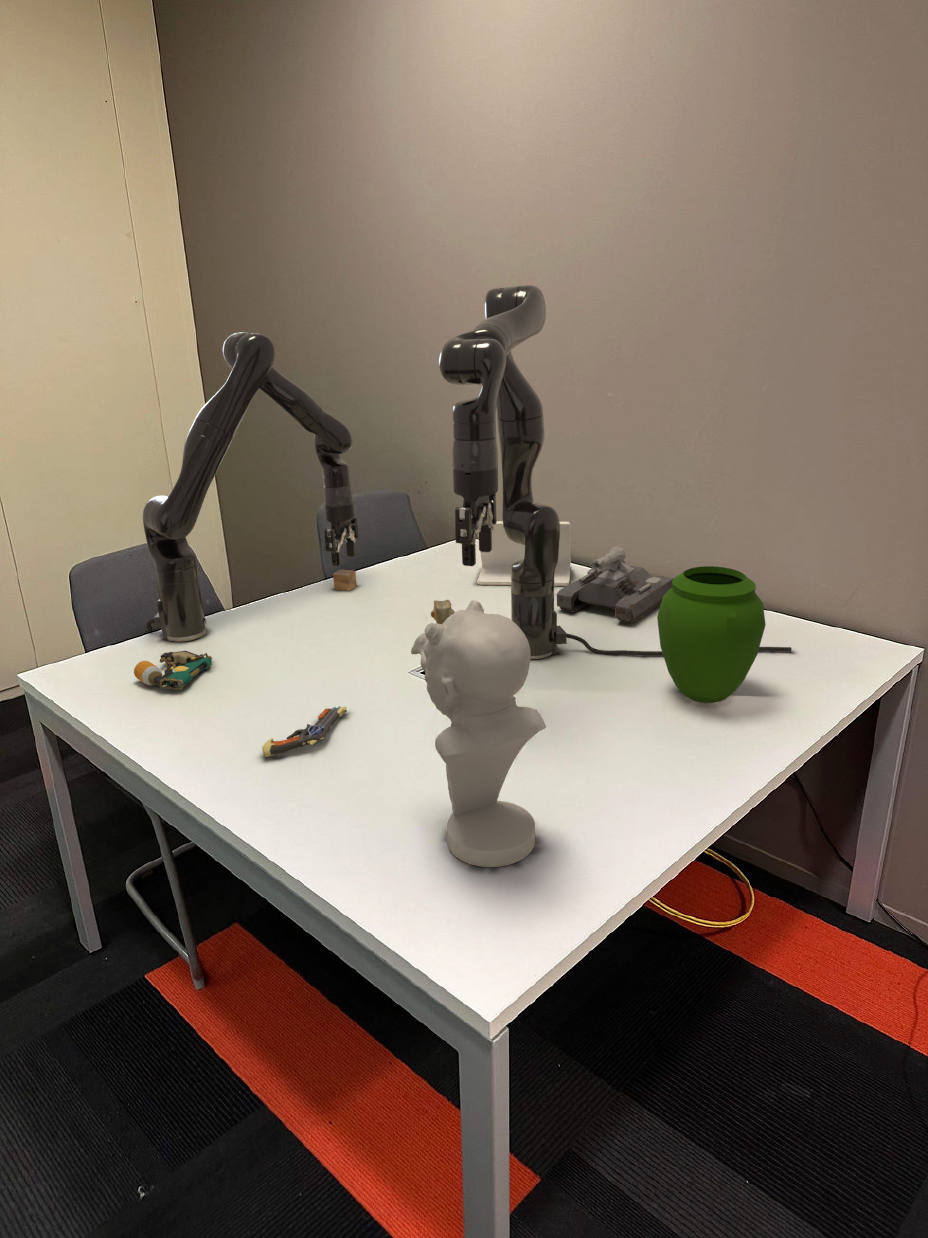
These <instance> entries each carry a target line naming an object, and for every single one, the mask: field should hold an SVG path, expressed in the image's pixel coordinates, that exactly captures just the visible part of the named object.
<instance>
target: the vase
mask: <svg viewBox="0 0 928 1238" xmlns="http://www.w3.org/2000/svg"><path fill="white" fill-rule="evenodd" d="M673 578H674V579H673V580H672V588H671V589H670V590H669V591H667V592H666V593H665V595H664V596H663V598H662V602H661V604H660V605H659V608H658V613H657V617H656V618H657V626H658V639H659V647H660V651H662V653H663V659H664V662H665V665H666V668H667V671H668V674H669V677H670V678H671V679H672V681H673V683H674V686H675V687H676V689H678V690H679V692H680V693H681V694H682V695H683V696H684V698H687V699H689V700H690V701H693V702H696V703H700V704H716V703H717V704H718V703H720V702H724V701H725V700H727V699H728V698H729V697H730V696H732V695H733V694H734V693H735V692H736V691H737V690H738V688H739V687H740V686H741V685H742V683H743V682H744V681H745V680H746V678H747V675H748V674H749V672H750V670H751V668H752V666H753V664H754V662H755V660H756V658H757V656H758V654H759V651H758V650H759V647H761V643H762V639H763V636H764V632H765V629H766V626H767V624H766V615H765V609H764V602H763V601H762V599H761V598H760V597H759V595H758V594H757V593H756V588H757V585H756V583H755V582H754V581H753V580H752V579H751V578H750V577H748V576H746V574H744V573H743V572H742V571H739V570H736V569H734V568H730V567H724V566H712V565H711V566H707V565H705V566H696V567H691V568H687V569H686V570H684V571H683V572H681V573H680V574H678V575H676V576H675V577H673Z"/></svg>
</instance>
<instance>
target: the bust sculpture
mask: <svg viewBox="0 0 928 1238" xmlns="http://www.w3.org/2000/svg"><path fill="white" fill-rule="evenodd" d="M454 612H455V613H453V614H452V615H451V616H450V617H448V618H447V619H446V620H445V622H444V623H443V624H436V623H435V622H430V623H428V624H427V625H426V626H425V628H424V632H423V633H421V634H419V635H418V636H417V637H416V638H415V640H414V642H413V645H412V647H411V649H410V654H412V655H420V667H421V669H422V670H423V672H424V681H425V682H426V690H427V693H428V696H429V698H430V701H431V702H432V704H434V706H435V708H436V710H438V711H439V712H440V713H441V714H442V716H446V717H447V718H448V719H449V720H450V726H448V727H446V728H445V729H443V730H442V731H441V732H440V733H439V734H438V735H436V738H435V741H434V748H435V749H436V752H437V753H438V755H439V757H440V758H441V760H442V761H443V762H444V763H445V771H446V781H447V790H448V796H449V800H450V803H451V810H452V813H451V814H450V815H449V817H448V819H447V822H446V844H447V847H448V849H449V851H450V852H451V854H452V855H453V856H454V857H456V858H457V859H459V860H460V861H462V862H463V863H466V864H469V865H471V866H476V867H483V868H498V867H505V866H509V865H512V864H517V862H520V861H521V860H523V859H525V858H527V856H528V855H530V854H531V852H532V851H533V849H535V848H534V847H535V845H536V822H535V821H536V820H535V819H534V817H533V816H532V814H531V813H530V812H529V811H528V810H526V809H525V808H524V807H522V806H520V805H517V804H515V803H513V802H509V801H504V800H499V796H500V793H501V790H502V788H503V785H504V783H505V780H506V778H507V776H508V773H509V771H510V769H511V768H512V765H513V763H514V761H515V760H516V759H517V756H518V755H519V753H520V752H521V750H522V749H523V748H524V747H525V745H526V744H527V743H528V742H529V741H530V740H531V739H532V738H533V737H535V735H537V734H538V733H539V732H541V731H544V730H545V729H546V728H547V725H546V723H545V720H544V718H543V717H542V714H541V713H540V712H539V711H538V710H537V709H535V708H533V707H530V706H518V705H517V701H516V699H517V698H516V696H515V695H516V694H517V693H519V691H521V689H522V688H523V686H524V684H525V683H526V680H527V678H528V675H529V669H530V666H531V659H530V656H531V655H530V653H531V652H530V646H529V643H528V640H527V638H526V636H525V634H524V633H523V632H522V630H521V629H520V628H519V627H518V626H517V625H516V624H515V623H514V622H513V621H512V620H511V618H508V617H507V616H504V615H503V614H502V615H501V614H496V613H485V609H484V607H483V605H482V603H481V602H480V601H478V600H473V599H472V600H470V601H469V603H468V605H467V607H466V609H460V610H457V611H454Z"/></svg>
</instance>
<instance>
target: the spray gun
mask: <svg viewBox="0 0 928 1238" xmlns="http://www.w3.org/2000/svg"><path fill="white" fill-rule="evenodd" d="M212 660H213V657H212V656H211V655H208V653H207V652H205V653H201V654H197V653H194V652H192V651H191V652H190V651H188V650H180V651H169V652H164V653H162V654H161V655H160V658H159V660H158V662H159V663H161V664H163V663H165V664H166V668H165V670H163V672H164V674H163V673H162V669H160V668H159V666H157V665H156V664H154V663H152V662H151V661H149V660H141V661H139V662H138V663H136V665H135V666H134V668H133V675H134V677H135V678H136V679H137V680H139V681H140V682H142V683H143V684H145V685H147V686H155V685H157V686H158V687H160V688H161V689H171V690H172V689H173V690H182V689H184V687H185V686H186V685H188V684H189V683H190V682H191V681H192V679H193V678H195V677H196V676H197V675H198V674H200V673H201V672H202V671H203V670H206V669H208V668H209V667H210V666H211V665H212V662H213V661H212ZM178 663H179V664H181V665H179V666H176V665H177V664H178Z"/></svg>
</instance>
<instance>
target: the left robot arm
mask: <svg viewBox="0 0 928 1238" xmlns="http://www.w3.org/2000/svg"><path fill="white" fill-rule="evenodd" d="M222 355H223V358H224V360H225V363H226V364H227V366H228V367H230V369H231V372H230V374H229V376H228V378H227V379H226V382H225V383H224V384H223V385H222V387H221V388H220V389H219V390H218V391H217V392H216V393H215V395H213V396H212V397H211V398H210V399H209V400H208V401H207V402H206V403H205V404H204V405H203V406H202V408H201V409H200V410H199V411H198V413H197V415H196V417H195V418H194V420H193V423H192V424H191V426H190V429H189V430H188V432H187V435H186V438H185V441H184V444H183V451H182V461H181V467H180V472H179V475H178V478H177V480H176V482H175V484H174V486H173V488H172V490H171V491H170V492H169V495H157V496H154V497H151V498H150V499H149V500H148V501H146V503H145V505H144V507H143V511H142V525H143V530H144V531H143V532H144V535H145V540H146V545H147V551H148V553H149V556H150V558H151V560H152V563H153V566H154V572H155V578H156V585H157V591H158V597H159V599H158V600H157V601H156V605H157V611H158V612H157V613H156V614H155V615H154V617H153V618H151V619H149V620H148V621H147V622H146V629H147V631H148V632H152V631H153V627H152V624H154V627H155V628H160V630H161V636H162V640H163V641H170V642H176V643H178V642H179V643H181V642H183V643H184V642H190V641H194V640H197V639H200V638H202V637H204V636H205V635H207V627H206V624H207V620H206V617H205V615H204V607H203V601H202V594H201V593H202V592H201V587H200V580H199V574H198V565H197V559H196V553H195V551H194V550H193V549H192V548H191V546H190V544H189V542H188V539H187V537H188V535H190V533H192V531H193V529H194V527H195V526H196V523H197V521H198V517H199V515H200V512H201V510H202V507H203V504H204V501H205V498H206V495H207V494H208V491H209V488H210V486H211V484H212V482H213V480H214V478H215V476H216V474H217V472H218V470H219V468H220V466H221V464H222V462H223V460H224V458H225V456H226V454H227V452H228V450H229V448H230V447H231V444H232V442H233V440H234V438H235V436H236V433H237V431H238V429H239V427H240V425H241V424H242V422H243V420H244V418H245V415H246V413H247V411H248V409H249V407H250V405H251V402H252V400H253V399H254V397H255V395H256V394H257V392H258V391H259V389H260V390H261V392H263V393H264V394H265V395H267V396H268V397H269V398H270V399H272V400H273V402H275V403H276V404H277V405H278V406H279V407H280V408H281V409H283V411H284V412H285V413H287V414H288V416H290V417H291V419H293V421H294V422H295V423H297V424H298V426H300V427H301V428H302V429H303V430H304V431H306V432H308V433H310V434H313V435H314V436H313V445H314V449H315V453H316V456H317V460H318V462H319V465H320V467H321V470H322V481H323V483H322V484H323V502H324V512H325V514H324V515H325V520H326V521H327V522H329V523H330V528H325V529H324V531H323V532H324V533H323V534H324V546H325V552H327V553H330V556H331V557H330V558H331V564H332V566H333V567H339V566H341V565H342V563H341V552H340V550H341V546H342V545H343V544H344V541H345V546H346V555H347V557H351V558H353V557H354V558H355V556H356V546H355V544H356V541H357V540H358V539H359V537H360V536H359V527H358V519H357V517H355V508H354V507H355V506H354V495H353V490H352V482H351V471H350V466H349V464H348V463H347V462H346V461H344V460H342V458H341V455H342V454H346V453H348V452H349V451H350V450H351V448H352V446H353V435H352V433H351V431H350V429H349V428H347V426H346V425H345V424H344V423H342V422H341V421H340V420H338V419H337V418H336V417H334V416H333V415H331V414H330V413H328V412H327V411H326V410H324V409H323V408H322V406H320V405H319V403H318V402H317V401H316V400H315V399H314V398H313V397H312V396H311V395H310V394H309V393H308V392H307V391H305V390H304V389H303V388H301V387H300V386H299V385H297V384H296V383H295V382H293V381H291V380H290V379H289V378H287V377H286V376H284V375H283V374H282V373H281V372H279V371H278V370H277V369H276V368H275V367H274V363H275V361H276V360H275V359H276V348H275V345H274V343H273V341H272V340H271V338H269V337H268V336H267V335H265V334H262V333H258V332H257V333H256V332H235V333H233V334H230V335H229V336H228V337H227V338H226V339H225V341H224V343H223V346H222Z"/></svg>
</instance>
